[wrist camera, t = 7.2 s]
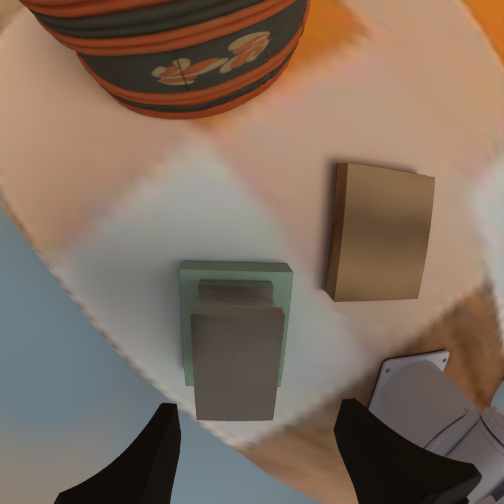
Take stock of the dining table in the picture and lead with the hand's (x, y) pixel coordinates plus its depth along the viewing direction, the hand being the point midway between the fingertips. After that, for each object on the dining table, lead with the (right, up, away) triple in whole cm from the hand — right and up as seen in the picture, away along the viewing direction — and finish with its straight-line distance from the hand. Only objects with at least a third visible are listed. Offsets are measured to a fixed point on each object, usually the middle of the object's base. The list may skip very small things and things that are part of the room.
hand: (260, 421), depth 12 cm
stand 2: (+9, +9, +9) cm, 15 cm away
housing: (-1, +2, +8) cm, 8 cm away
